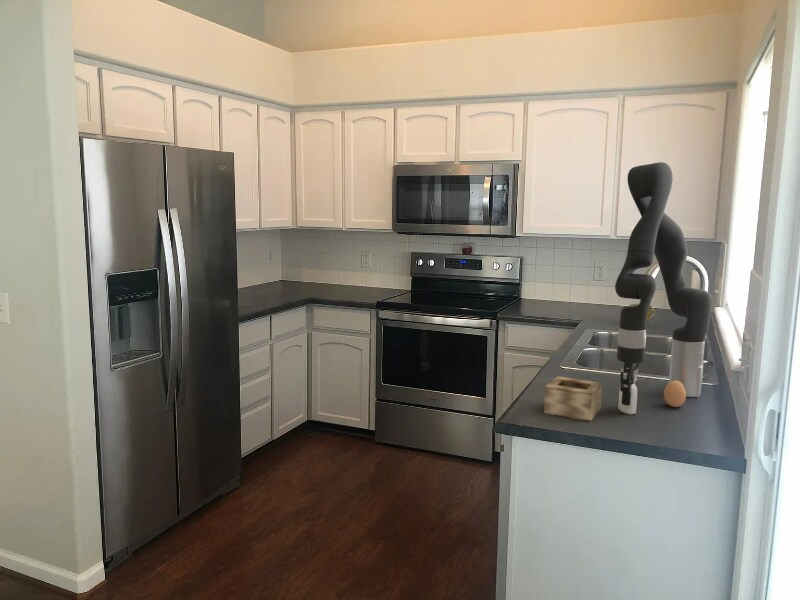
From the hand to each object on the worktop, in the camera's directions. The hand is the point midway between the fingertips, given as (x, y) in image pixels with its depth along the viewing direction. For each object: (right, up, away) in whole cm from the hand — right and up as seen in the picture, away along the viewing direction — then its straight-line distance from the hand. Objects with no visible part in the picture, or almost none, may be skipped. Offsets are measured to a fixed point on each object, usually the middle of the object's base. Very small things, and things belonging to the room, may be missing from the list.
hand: (627, 401), depth 185 cm
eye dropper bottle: (0, -3, 0) cm, 3 cm away
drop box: (-16, -3, 0) cm, 16 cm away
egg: (+15, -2, +5) cm, 17 cm away
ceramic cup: (+50, +16, +122) cm, 133 cm away
